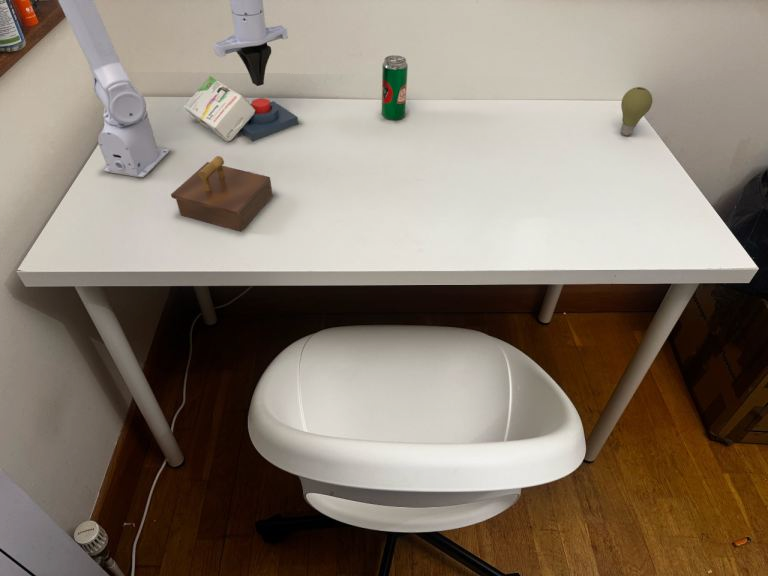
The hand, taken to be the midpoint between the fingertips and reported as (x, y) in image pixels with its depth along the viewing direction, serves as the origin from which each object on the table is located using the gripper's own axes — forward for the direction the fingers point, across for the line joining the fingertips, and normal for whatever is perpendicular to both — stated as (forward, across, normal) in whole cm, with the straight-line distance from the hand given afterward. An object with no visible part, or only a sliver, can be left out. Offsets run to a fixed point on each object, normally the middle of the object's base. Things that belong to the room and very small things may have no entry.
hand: (258, 83), depth 111 cm
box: (+9, 0, 0) cm, 9 cm away
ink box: (+5, +8, -10) cm, 13 cm away
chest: (+9, +20, +20) cm, 30 cm away
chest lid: (+5, +20, +20) cm, 29 cm away
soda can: (+9, -23, +14) cm, 29 cm away
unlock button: (+6, 0, 0) cm, 6 cm away
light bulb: (+9, -55, +51) cm, 75 cm away
